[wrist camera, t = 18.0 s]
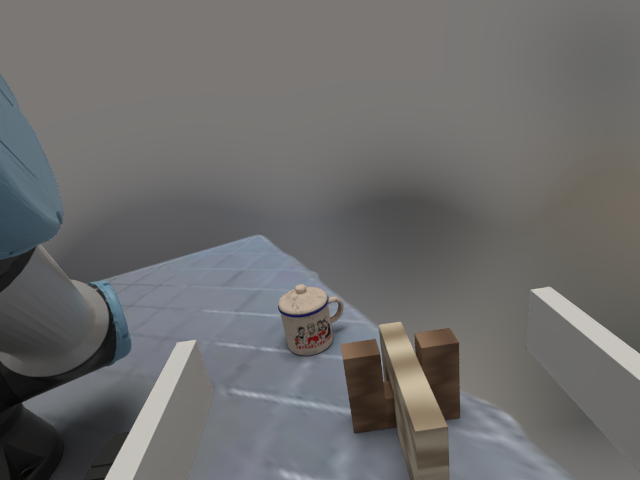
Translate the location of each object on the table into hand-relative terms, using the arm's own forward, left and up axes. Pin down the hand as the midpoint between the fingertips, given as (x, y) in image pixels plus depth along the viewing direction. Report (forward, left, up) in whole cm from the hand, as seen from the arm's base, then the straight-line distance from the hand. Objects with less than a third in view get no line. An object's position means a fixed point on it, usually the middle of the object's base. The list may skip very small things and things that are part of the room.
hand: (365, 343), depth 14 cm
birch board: (-16, +15, -32) cm, 39 cm away
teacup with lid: (-42, +17, -32) cm, 56 cm away
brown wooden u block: (-19, +17, -32) cm, 41 cm away
